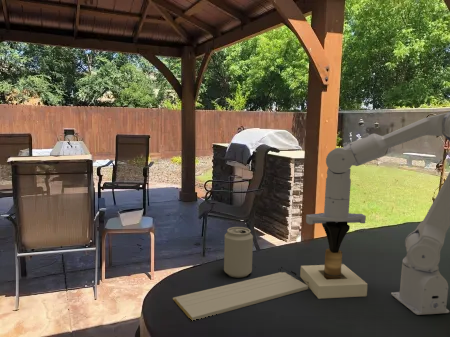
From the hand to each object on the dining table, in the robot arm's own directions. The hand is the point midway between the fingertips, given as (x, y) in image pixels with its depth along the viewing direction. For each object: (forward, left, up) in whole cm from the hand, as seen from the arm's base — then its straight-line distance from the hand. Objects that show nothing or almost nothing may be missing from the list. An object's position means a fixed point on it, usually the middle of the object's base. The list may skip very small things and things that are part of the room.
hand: (333, 251), depth 90 cm
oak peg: (0, 0, -9) cm, 9 cm away
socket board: (0, 0, -9) cm, 9 cm away
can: (+10, +22, -9) cm, 26 cm away
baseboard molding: (-1, +23, -10) cm, 25 cm away
